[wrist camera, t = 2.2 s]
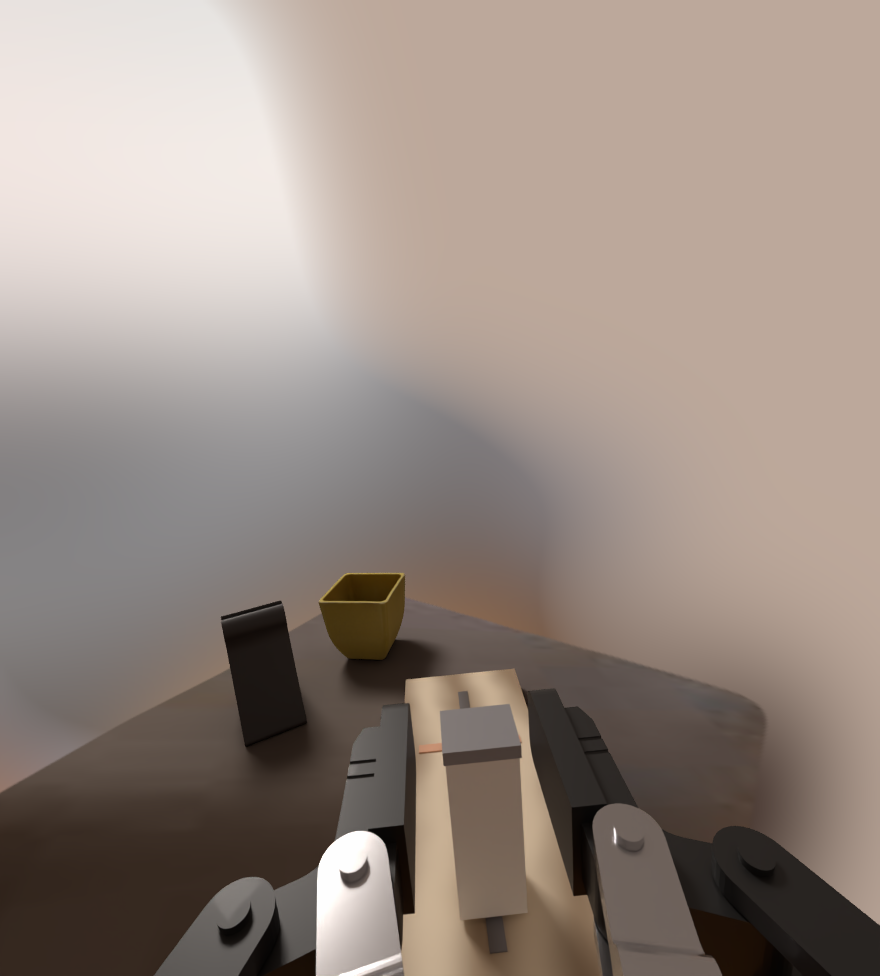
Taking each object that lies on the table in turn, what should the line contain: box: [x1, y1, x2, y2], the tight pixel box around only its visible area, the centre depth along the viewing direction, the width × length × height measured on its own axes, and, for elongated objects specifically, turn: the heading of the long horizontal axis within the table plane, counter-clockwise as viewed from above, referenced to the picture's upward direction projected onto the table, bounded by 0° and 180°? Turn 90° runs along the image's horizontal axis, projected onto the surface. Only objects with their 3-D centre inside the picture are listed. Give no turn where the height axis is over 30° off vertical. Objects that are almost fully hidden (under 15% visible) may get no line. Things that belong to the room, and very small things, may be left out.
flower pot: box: [319, 573, 405, 660], centre depth 59 cm, size 9×9×9 cm
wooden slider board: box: [401, 669, 600, 976], centre depth 36 cm, size 12×28×2 cm, turn 3°
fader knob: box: [440, 704, 528, 920], centre depth 27 cm, size 4×3×12 cm
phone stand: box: [221, 601, 307, 746], centre depth 48 cm, size 9×6×12 cm, turn 27°
